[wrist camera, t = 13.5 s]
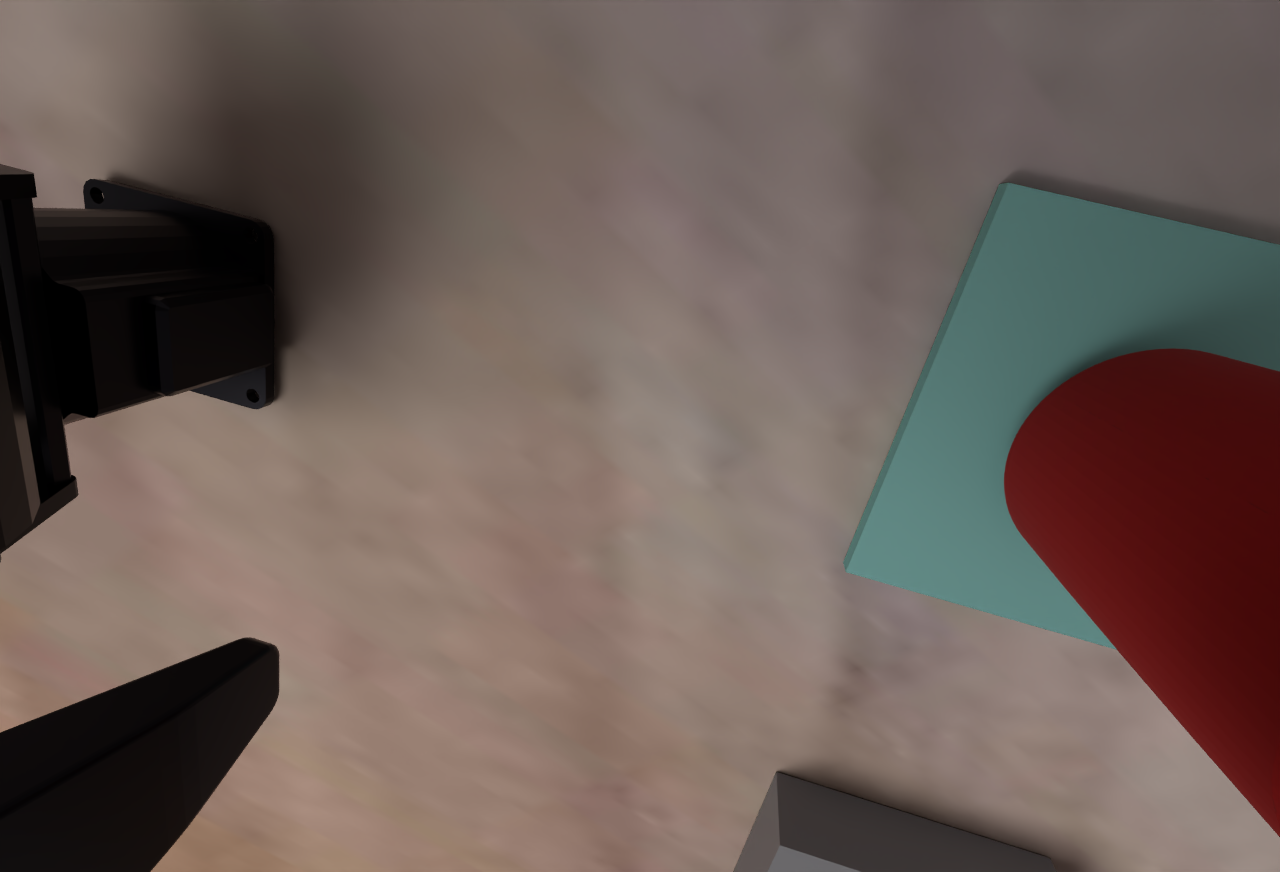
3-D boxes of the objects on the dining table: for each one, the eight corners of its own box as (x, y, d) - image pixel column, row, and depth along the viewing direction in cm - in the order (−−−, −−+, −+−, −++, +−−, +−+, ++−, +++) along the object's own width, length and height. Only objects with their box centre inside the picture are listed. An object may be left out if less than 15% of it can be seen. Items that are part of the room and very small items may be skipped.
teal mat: (843, 562, 20) (845, 572, 20) (999, 184, 16) (1008, 182, 15) (1214, 667, 19) (1227, 681, 19) (1489, 296, 15) (1518, 299, 14)
